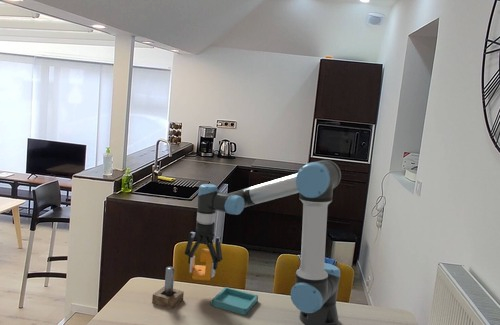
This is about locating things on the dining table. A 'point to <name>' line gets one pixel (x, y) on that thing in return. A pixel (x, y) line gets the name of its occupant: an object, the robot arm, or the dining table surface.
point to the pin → (169, 281)
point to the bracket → (200, 270)
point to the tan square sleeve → (167, 298)
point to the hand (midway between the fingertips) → (202, 273)
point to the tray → (235, 300)
